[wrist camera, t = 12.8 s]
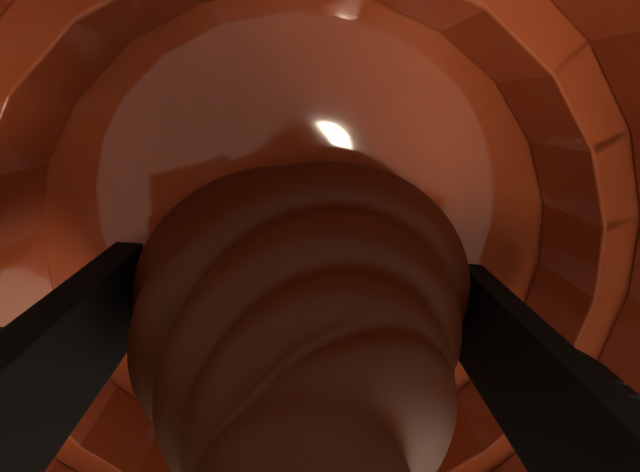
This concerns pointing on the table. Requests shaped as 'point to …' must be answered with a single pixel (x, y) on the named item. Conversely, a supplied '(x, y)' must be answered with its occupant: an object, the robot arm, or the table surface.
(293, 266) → the poop emoji
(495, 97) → the bowl
